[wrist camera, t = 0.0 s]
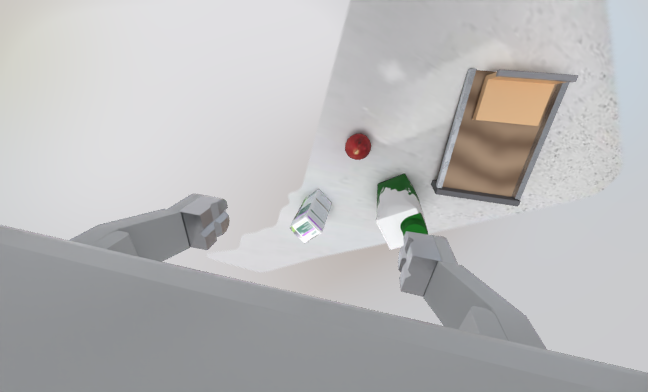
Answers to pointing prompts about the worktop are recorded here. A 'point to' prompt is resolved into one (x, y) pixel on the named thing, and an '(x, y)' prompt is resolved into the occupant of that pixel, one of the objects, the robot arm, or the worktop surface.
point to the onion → (358, 146)
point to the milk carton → (398, 211)
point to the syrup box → (311, 216)
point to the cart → (517, 96)
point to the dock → (491, 149)
